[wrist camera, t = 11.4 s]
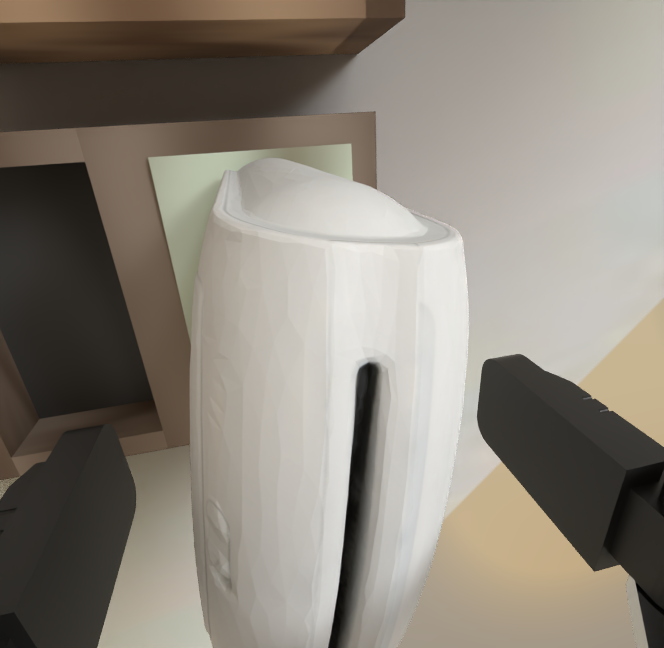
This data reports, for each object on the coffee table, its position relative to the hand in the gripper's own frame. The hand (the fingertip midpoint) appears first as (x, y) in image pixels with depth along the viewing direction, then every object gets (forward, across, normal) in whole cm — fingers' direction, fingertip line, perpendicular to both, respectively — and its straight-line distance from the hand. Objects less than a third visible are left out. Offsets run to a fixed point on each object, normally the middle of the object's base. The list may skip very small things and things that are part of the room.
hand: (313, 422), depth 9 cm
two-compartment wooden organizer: (+12, +4, 0) cm, 12 cm away
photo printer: (+8, 0, 0) cm, 9 cm away
